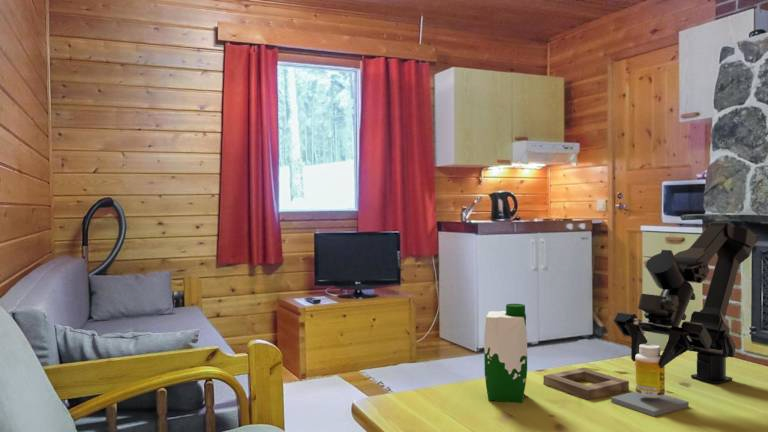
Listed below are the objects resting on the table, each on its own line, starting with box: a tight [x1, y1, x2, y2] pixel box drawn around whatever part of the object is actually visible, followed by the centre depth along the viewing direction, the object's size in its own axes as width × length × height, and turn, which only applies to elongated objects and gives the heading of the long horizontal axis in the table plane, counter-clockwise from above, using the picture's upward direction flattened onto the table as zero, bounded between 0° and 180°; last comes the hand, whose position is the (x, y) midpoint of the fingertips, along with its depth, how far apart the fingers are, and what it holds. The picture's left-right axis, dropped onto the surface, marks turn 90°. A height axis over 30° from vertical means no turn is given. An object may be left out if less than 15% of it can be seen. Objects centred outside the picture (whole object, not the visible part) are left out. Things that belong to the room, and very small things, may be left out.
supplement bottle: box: [634, 343, 666, 398], centre depth 122 cm, size 6×6×10 cm
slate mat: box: [610, 390, 689, 417], centre depth 122 cm, size 11×10×1 cm
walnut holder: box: [543, 367, 630, 401], centre depth 134 cm, size 13×13×2 cm
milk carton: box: [483, 303, 528, 404], centre depth 127 cm, size 9×9×20 cm
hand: (646, 363), depth 121 cm, fingers closed on supplement bottle, 5 cm apart
